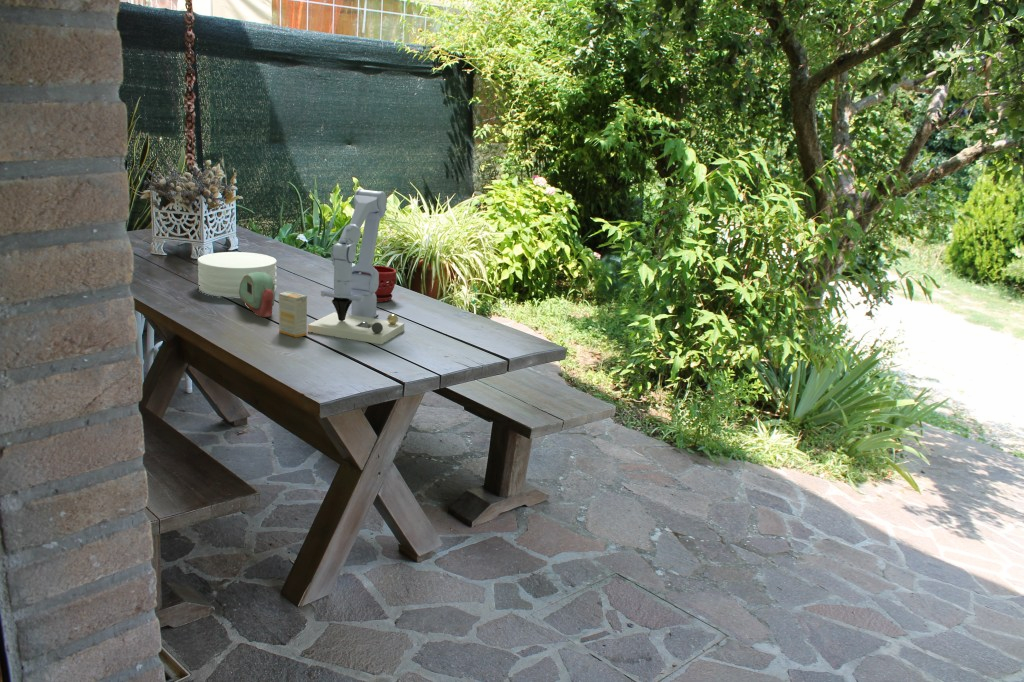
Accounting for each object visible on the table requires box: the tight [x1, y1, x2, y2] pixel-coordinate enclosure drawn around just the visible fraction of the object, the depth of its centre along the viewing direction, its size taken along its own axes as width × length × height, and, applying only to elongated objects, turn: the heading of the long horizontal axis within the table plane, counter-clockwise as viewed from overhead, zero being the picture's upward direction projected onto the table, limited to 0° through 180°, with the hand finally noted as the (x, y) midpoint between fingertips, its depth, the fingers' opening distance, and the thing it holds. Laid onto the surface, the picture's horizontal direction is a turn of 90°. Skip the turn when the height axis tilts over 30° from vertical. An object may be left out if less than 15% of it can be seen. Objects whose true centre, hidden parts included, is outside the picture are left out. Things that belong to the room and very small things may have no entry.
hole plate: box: [307, 311, 405, 345], centre depth 283 cm, size 18×26×2 cm
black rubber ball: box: [372, 322, 383, 333], centre depth 274 cm, size 4×4×4 cm
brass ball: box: [386, 313, 399, 324], centre depth 285 cm, size 4×4×4 cm
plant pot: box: [361, 265, 397, 303], centre depth 324 cm, size 13×13×12 cm
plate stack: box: [197, 251, 278, 297], centre depth 322 cm, size 28×28×12 cm
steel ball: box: [359, 321, 370, 328], centre depth 283 cm, size 4×4×4 cm
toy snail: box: [239, 272, 276, 318], centre depth 296 cm, size 25×8×14 cm, turn 33°
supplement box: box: [278, 291, 308, 338], centre depth 274 cm, size 8×5×13 cm, turn 55°
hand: (341, 320), depth 284 cm, fingers closed
